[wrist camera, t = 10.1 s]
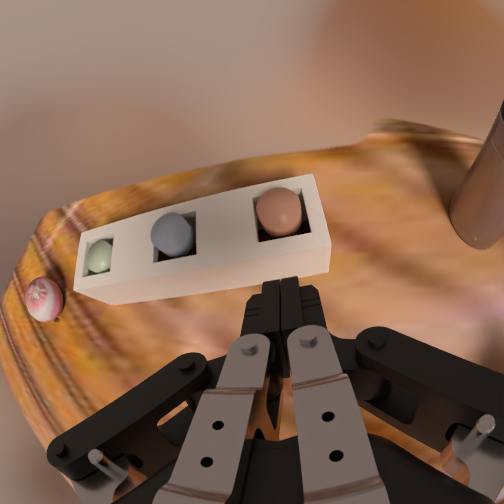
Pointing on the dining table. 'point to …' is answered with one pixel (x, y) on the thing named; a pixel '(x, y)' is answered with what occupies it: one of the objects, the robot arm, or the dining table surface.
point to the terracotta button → (279, 212)
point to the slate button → (173, 235)
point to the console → (206, 248)
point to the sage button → (99, 257)
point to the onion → (44, 299)
